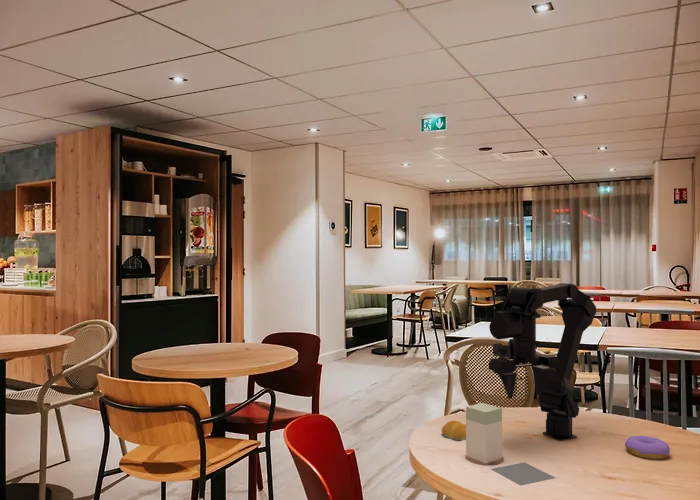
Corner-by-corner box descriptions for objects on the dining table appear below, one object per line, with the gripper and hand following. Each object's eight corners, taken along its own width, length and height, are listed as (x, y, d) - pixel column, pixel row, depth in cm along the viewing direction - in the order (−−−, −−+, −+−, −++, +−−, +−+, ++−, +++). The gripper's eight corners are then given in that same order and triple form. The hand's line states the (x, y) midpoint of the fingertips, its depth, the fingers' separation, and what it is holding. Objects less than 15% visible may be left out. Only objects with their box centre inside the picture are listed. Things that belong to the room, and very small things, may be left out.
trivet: (487, 451, 140) (487, 448, 140) (511, 463, 132) (511, 460, 132) (458, 456, 136) (458, 454, 136) (481, 469, 128) (481, 466, 128)
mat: (524, 464, 132) (524, 462, 132) (556, 479, 122) (556, 477, 122) (490, 470, 127) (490, 468, 127) (520, 487, 118) (520, 485, 118)
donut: (669, 449, 141) (669, 432, 140) (670, 469, 133) (670, 451, 132) (625, 443, 146) (625, 426, 145) (624, 462, 138) (623, 444, 137)
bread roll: (463, 444, 146) (463, 429, 146) (437, 436, 153) (437, 421, 153) (482, 437, 152) (482, 422, 152) (455, 429, 158) (455, 415, 158)
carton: (482, 451, 139) (482, 402, 139) (501, 458, 134) (501, 408, 134) (466, 456, 135) (466, 406, 135) (485, 463, 130) (485, 412, 130)
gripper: (530, 330, 155) (530, 386, 154) (475, 334, 147) (475, 393, 147) (560, 335, 144) (560, 395, 144) (503, 340, 137) (503, 403, 137)
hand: (524, 396), depth 143 cm, fingers open, 9 cm apart
